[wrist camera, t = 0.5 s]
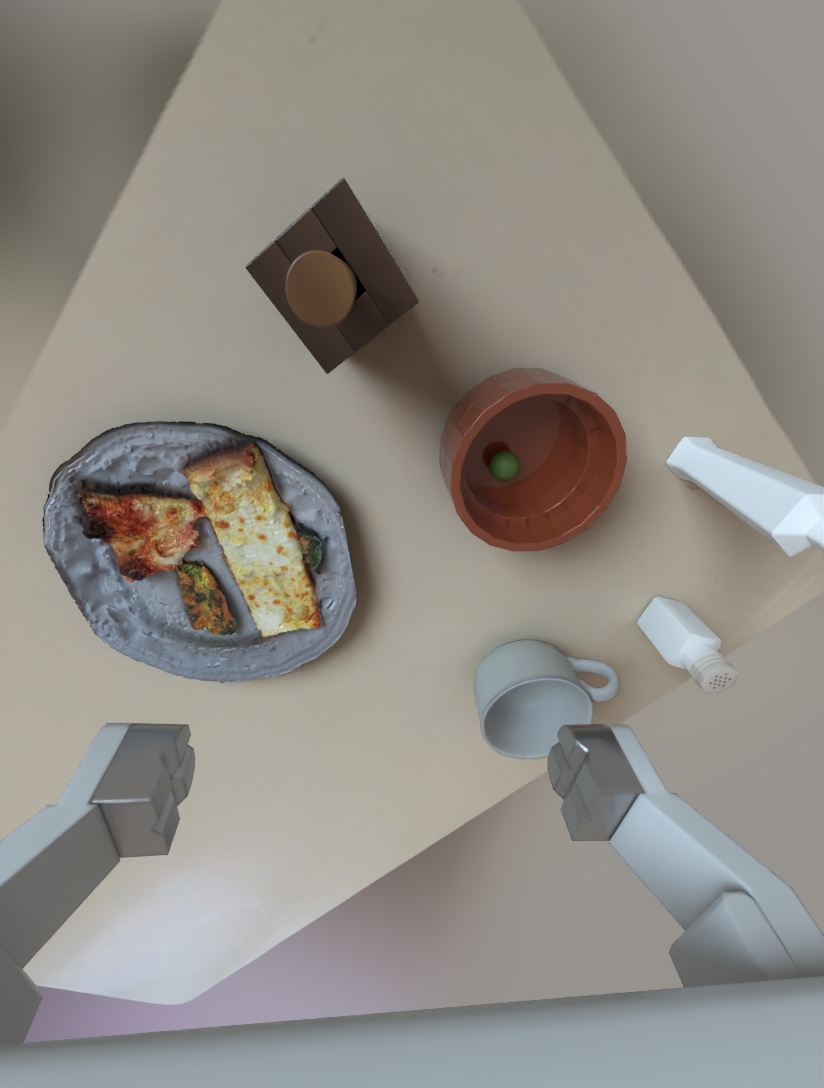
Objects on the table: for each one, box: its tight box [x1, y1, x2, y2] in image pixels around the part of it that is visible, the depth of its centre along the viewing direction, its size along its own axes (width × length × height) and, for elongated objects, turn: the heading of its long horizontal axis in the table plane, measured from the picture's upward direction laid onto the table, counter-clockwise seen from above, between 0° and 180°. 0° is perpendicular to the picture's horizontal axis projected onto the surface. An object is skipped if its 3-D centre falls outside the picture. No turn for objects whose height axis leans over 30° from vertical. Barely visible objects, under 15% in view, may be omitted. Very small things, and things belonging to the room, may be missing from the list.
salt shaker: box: [637, 596, 738, 693], centre depth 44 cm, size 4×4×10 cm
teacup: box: [474, 640, 620, 759], centre depth 46 cm, size 14×11×8 cm
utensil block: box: [246, 178, 419, 374], centre depth 26 cm, size 6×6×9 cm
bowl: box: [440, 368, 627, 551], centre depth 35 cm, size 12×12×6 cm
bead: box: [489, 451, 520, 482], centre depth 36 cm, size 2×2×2 cm
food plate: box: [42, 421, 358, 683], centre depth 38 cm, size 25×23×4 cm
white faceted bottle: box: [666, 437, 824, 557], centre depth 33 cm, size 5×4×15 cm
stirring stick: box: [285, 250, 357, 328], centre depth 22 cm, size 2×2×18 cm
